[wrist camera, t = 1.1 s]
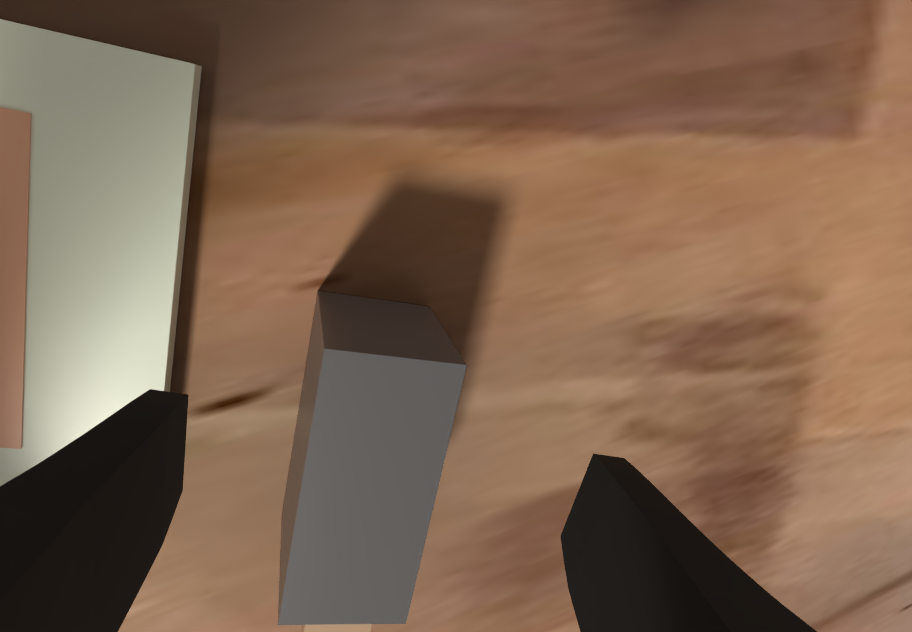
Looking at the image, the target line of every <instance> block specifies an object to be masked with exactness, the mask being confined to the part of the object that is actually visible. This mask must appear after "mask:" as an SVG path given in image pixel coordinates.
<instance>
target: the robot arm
mask: <svg viewBox="0 0 912 632" xmlns="http://www.w3.org/2000/svg"><path fill="white" fill-rule="evenodd" d="M187 408H188V395H187V394H180V393H173V392H166V391H159V390H153V389H150V390H148V391H146V392H145V393H143V394H142V395H140V396H139V397H137V398H136V399H134V400H133V401H131V402H130V403H128V404H127V405H125V406H124V407H122V408H121V409H120V410H118V411H117V412H115V413H114V414H112V415H111V416H109V417H108V418H107V419H105V420H104V421H102V422H101V423H99V424H98V425H96V426H95V427H93V428H92V429H90V430H89V431H88V432H86V433H85V434H83V435H82V436H80V437H79V438H77V439H75V440H74V441H72V442H71V443H69V444H68V445H66V446H65V447H63V448H62V449H60V450H59V451H57V452H56V453H54V454H52V455H51V456H49V457H48V458H46V459H45V460H43V461H42V462H40V463H38V464H37V465H35V466H34V467H32V468H30V469H29V470H27V471H25V472H23V473H22V474H20V475H18V476H17V477H15V478H13V479H12V480H10V481H8V482H7V483H5V484H3V485H2V486H0V632H118V630H119V628H120V626H121V624H122V623H123V621H124V619H125V617H126V615H127V613H128V611H129V609H130V607H131V605H132V603H133V601H134V599H135V597H136V595H137V594H138V592H139V590H140V588H141V586H142V584H143V582H144V580H145V578H146V576H147V574H148V572H149V570H150V568H151V566H152V564H153V562H154V560H155V558H156V556H157V554H158V552H159V550H160V548H161V546H162V544H163V542H164V539H165V536H166V534H167V531H168V528H169V526H170V523H171V521H172V518H173V515H174V512H175V509H176V507H177V504H178V501H179V498H180V496H181V493H182V490H183V474H184V458H185V441H186V425H187ZM561 542H562V550H563V557H564V564H565V570H566V576H567V582H568V588H569V592H570V596H571V599H572V603H573V607H574V610H575V614H576V617H577V621H578V624H579V628H580V631H581V632H817V631H815V630H814V629H813V628H812V627H810V626H809V625H808V624H806V623H805V622H804V621H803V620H801V619H800V618H799V617H798V616H796V615H795V614H794V613H792V612H791V611H790V610H789V609H787V608H786V607H785V606H783V605H782V604H781V603H780V602H779V601H777V600H776V599H775V598H774V597H773V596H771V595H770V594H769V593H768V592H767V591H765V590H764V589H763V588H762V587H761V586H760V585H759V584H757V583H756V582H755V581H754V580H753V579H752V578H751V577H749V576H748V575H747V574H746V573H745V572H744V571H743V570H742V569H740V568H739V567H738V566H737V565H736V564H735V563H734V562H732V561H731V560H730V559H729V558H728V557H727V556H726V555H725V554H724V553H723V552H722V551H721V550H719V549H718V548H717V547H716V546H715V545H714V544H713V543H712V542H711V541H710V540H709V539H708V538H707V537H706V536H705V535H704V534H703V533H702V532H701V531H699V530H698V529H697V528H696V527H695V526H694V525H693V524H692V523H691V522H690V521H689V520H688V519H687V518H686V517H685V516H684V515H683V514H682V513H681V512H680V511H679V510H678V509H677V508H676V507H675V506H674V505H673V504H672V503H671V502H670V501H669V500H668V499H667V498H666V497H665V496H664V495H663V494H662V493H661V492H660V491H659V490H658V489H657V488H656V487H655V486H654V485H653V484H652V483H651V482H650V481H649V480H647V479H646V478H645V477H644V476H643V475H642V474H641V473H640V472H639V471H638V470H637V469H636V468H635V467H634V466H633V465H631V464H630V463H629V462H628V461H627V460H626V459H624V458H619V457H612V456H605V455H598V454H593V456H592V458H591V461H590V463H589V466H588V469H587V471H586V474H585V476H584V479H583V481H582V484H581V486H580V489H579V491H578V494H577V496H576V499H575V501H574V504H573V506H572V509H571V511H570V514H569V516H568V519H567V521H566V524H565V526H564V529H563V531H562V534H561Z"/></svg>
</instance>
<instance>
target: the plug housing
mask: <svg viewBox="0 0 912 632" xmlns="http://www.w3.org/2000/svg"><path fill="white" fill-rule="evenodd" d="M466 367H467V365H466V363H465V361H464V360H463V358H462V357H461V355H460V354H459V352H458V351H457V349H456V347H455V346H454V344H453V343H452V341H451V340H450V338H449V336H448V335H447V333H446V332H445V330H444V329H443V327H442V326H441V324H440V322H439V321H438V319H437V318H436V316H435V315H434V313H433V312H432V310H431V308H430V307H429V306H422V305H415V304H408V303H401V302H394V301H387V300H380V299H373V298H366V297H359V296H352V295H345V294H338V293H330V292H323V291H318V292H317V299H316V305H315V311H314V317H313V323H312V330H311V336H310V342H309V348H308V355H307V361H306V367H305V373H304V380H303V386H302V392H301V398H300V404H299V411H298V417H297V423H296V429H295V436H294V442H293V448H292V454H291V460H290V467H289V473H288V479H287V485H286V492H285V498H284V504H283V510H282V521H281V550H280V580H279V609H278V625H303V626H302V632H370V631H371V626H372V624H406V620H407V616H408V612H409V608H410V603H411V599H412V595H413V591H414V586H415V582H416V578H417V574H418V570H419V565H420V561H421V557H422V553H423V548H424V544H425V540H426V536H427V531H428V527H429V523H430V519H431V515H432V510H433V506H434V502H435V498H436V493H437V489H438V485H439V481H440V477H441V472H442V468H443V464H444V460H445V455H446V451H447V447H448V443H449V438H450V434H451V430H452V426H453V422H454V417H455V413H456V409H457V405H458V400H459V396H460V392H461V388H462V384H463V379H464V375H465V371H466Z"/></svg>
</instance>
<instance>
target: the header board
mask: <svg viewBox="0 0 912 632" xmlns="http://www.w3.org/2000/svg"><path fill="white" fill-rule="evenodd" d="M201 70H202V66H199V65H196V64H193V63H188V62H184V61H180V60H175V59H171V58H167V57H162V56H158V55H154V54H149V53H145V52H141V51H136V50H132V49H128V48H123V47H119V46H115V45H110V44H106V43H102V42H97V41H93V40H89V39H84V38H80V37H76V36H71V35H67V34H63V33H58V32H54V31H50V30H46V29H41V28H37V27H33V26H28V25H24V24H20V23H15V22H11V21H7V20H2V19H0V486H2V485H3V484H5V483H7V482H8V481H10V480H12V479H13V478H15V477H17V476H18V475H20V474H22V473H23V472H25V471H27V470H29V469H30V468H32V467H34V466H35V465H37V464H38V463H40V462H42V461H43V460H45V459H46V458H48V457H49V456H51V455H52V454H54V453H56V452H57V451H59V450H60V449H62V448H63V447H65V446H66V445H68V444H69V443H71V442H72V441H74V440H75V439H77V438H79V437H80V436H82V435H83V434H85V433H86V432H88V431H89V430H90V429H92V428H93V427H95V426H96V425H98V424H99V423H101V422H102V421H104V420H105V419H107V418H108V417H109V416H111V415H112V414H114V413H115V412H117V411H118V410H120V409H121V408H122V407H124V406H125V405H127V404H128V403H130V402H131V401H133V400H134V399H136V398H137V397H139V396H140V395H142V394H143V393H145V392H146V391H148V390H150V389H153V390H159V391H166V392H170V387H171V376H172V366H173V356H174V346H175V336H176V325H177V315H178V305H179V295H180V284H181V274H182V264H183V254H184V243H185V233H186V223H187V213H188V203H189V192H190V182H191V172H192V162H193V151H194V141H195V131H196V121H197V111H198V100H199V90H200V80H201Z"/></svg>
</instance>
